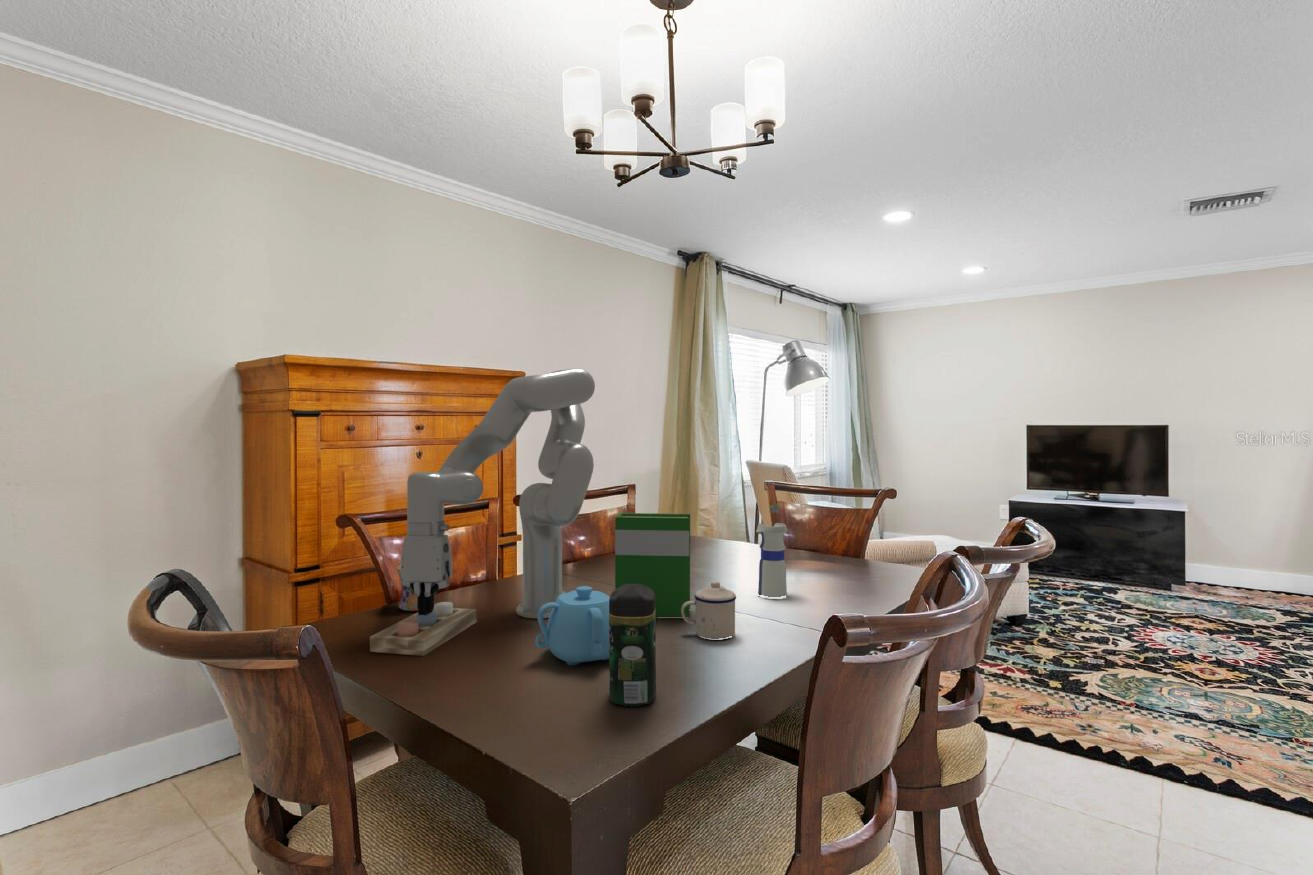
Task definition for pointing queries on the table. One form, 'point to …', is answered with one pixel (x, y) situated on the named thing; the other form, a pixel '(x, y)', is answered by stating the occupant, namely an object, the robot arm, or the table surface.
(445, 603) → the button ivory
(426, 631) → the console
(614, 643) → the coffee jar
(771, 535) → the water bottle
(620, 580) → the hardback book
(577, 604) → the decorative pot
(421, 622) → the button slate
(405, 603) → the multicolour ceramic cup
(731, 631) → the teacup with lid
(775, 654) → the table surface
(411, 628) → the button terracotta
